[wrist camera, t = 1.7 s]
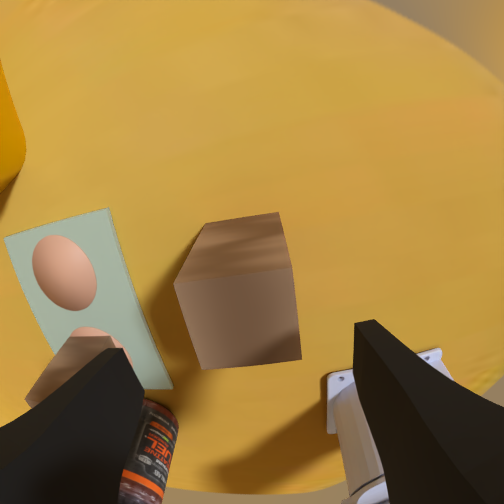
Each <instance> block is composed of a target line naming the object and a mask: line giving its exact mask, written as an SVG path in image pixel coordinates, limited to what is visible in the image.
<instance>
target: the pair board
mask: <svg viewBox="0 0 504 504" xmlns="http://www.w3.org/2000/svg"><path fill="white" fill-rule="evenodd" d="M4 241H5V244H6V247H7V250H8V253H9V256H10V259H11V261H12V264H13V267H14V269H15V272H16V275H17V277H18V280H19V282H20V284H21V287H22V289H23V292H24V294H25V296H26V298H27V301H28V303H29V305H30V307H31V309H32V312H33V314H34V316H35V318H36V320H37V322H38V324H39V326H40V328H41V330H42V332H43V334H44V336H45V338H46V339H47V341H48V343H49V345H50V347H51V349H52V350H53V352H54V354H55V355H56V354H57V352H58V351H59V350H60V348H61V347H62V346H63V344H64V343H65V342H66V340H67V339H68V338H69V337H77V336H111V338H112V340H113V343H114V345H115V347H116V348H123V350H124V352H125V354H126V356H127V358H128V360H129V362H130V364H131V366H132V368H133V370H134V372H135V374H136V376H137V377H138V379H139V381H140V383H141V385H142V387H143V389H173V386H174V385H173V383H172V381H171V379H170V377H169V374H168V372H167V370H166V368H165V366H164V363H163V361H162V359H161V356H160V354H159V352H158V349H157V347H156V345H155V342H154V340H153V337H152V335H151V332H150V330H149V327H148V325H147V322H146V320H145V317H144V315H143V312H142V309H141V307H140V304H139V301H138V299H137V296H136V293H135V290H134V287H133V285H132V282H131V279H130V276H129V273H128V270H127V267H126V264H125V261H124V257H123V254H122V251H121V248H120V245H119V241H118V238H117V235H116V231H115V228H114V224H113V221H112V217H111V213H110V210H109V208H105V209H101V210H97V211H93V212H89V213H85V214H81V215H78V216H74V217H70V218H67V219H63V220H59V221H56V222H52V223H49V224H45V225H42V226H39V227H35V228H32V229H29V230H26V231H22V232H19V233H16V234H13V235H10V236H7V237H5V238H4Z"/></svg>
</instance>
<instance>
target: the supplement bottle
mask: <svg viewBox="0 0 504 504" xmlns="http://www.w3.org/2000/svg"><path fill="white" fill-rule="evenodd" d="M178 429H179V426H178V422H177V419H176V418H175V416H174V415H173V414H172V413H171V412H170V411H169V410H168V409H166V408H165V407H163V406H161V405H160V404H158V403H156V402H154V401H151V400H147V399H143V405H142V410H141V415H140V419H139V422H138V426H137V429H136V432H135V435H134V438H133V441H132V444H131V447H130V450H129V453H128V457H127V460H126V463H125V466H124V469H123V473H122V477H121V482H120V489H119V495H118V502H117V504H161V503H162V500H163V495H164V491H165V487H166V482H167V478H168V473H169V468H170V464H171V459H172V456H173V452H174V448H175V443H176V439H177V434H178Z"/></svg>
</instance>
